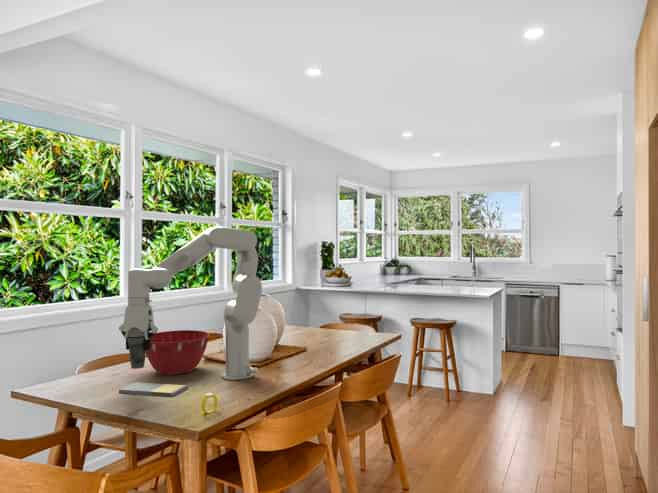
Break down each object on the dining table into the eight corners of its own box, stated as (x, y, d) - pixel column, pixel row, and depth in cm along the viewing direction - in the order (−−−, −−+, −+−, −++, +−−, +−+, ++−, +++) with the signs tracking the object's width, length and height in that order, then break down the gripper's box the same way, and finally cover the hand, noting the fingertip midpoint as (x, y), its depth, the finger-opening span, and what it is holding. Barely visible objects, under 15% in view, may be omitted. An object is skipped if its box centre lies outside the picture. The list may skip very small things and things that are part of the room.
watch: (206, 416, 155) (205, 397, 154) (199, 415, 156) (198, 396, 156) (219, 409, 160) (218, 391, 159) (213, 408, 161) (212, 390, 161)
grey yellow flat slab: (187, 388, 185) (187, 385, 185) (172, 396, 175) (172, 392, 175) (135, 385, 190) (135, 382, 190) (118, 392, 180) (118, 389, 180)
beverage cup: (130, 365, 187) (130, 312, 187) (150, 364, 187) (149, 312, 188) (124, 369, 180) (123, 314, 180) (144, 369, 180) (144, 314, 181)
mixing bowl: (190, 381, 196) (190, 342, 196) (126, 378, 202) (126, 340, 202) (220, 365, 224) (220, 330, 224) (163, 362, 230) (162, 329, 230)
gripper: (164, 301, 186) (164, 348, 186) (124, 300, 190) (124, 346, 190) (153, 303, 179) (152, 352, 178) (111, 302, 183) (111, 350, 183)
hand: (138, 349), depth 184 cm, fingers closed on beverage cup, 6 cm apart
